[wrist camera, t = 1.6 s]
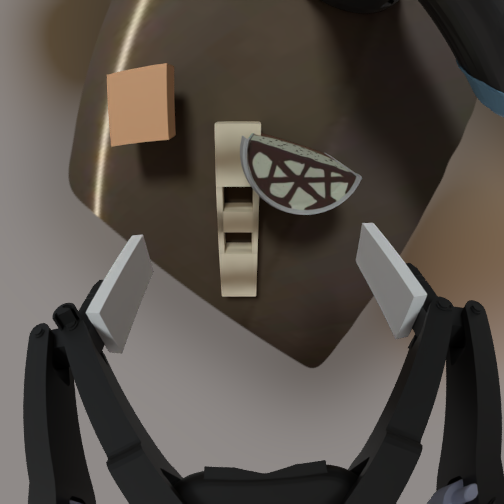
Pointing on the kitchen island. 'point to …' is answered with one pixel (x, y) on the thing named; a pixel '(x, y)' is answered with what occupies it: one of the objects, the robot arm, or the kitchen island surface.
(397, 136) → the kitchen island surface
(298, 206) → the grey green half-round piece
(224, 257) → the rail
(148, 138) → the tan toy stool
